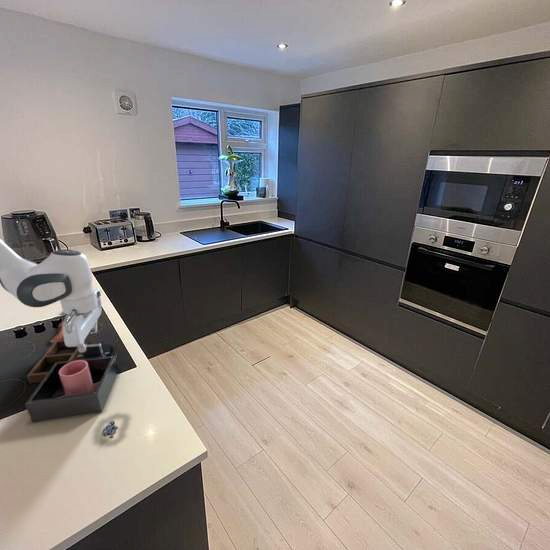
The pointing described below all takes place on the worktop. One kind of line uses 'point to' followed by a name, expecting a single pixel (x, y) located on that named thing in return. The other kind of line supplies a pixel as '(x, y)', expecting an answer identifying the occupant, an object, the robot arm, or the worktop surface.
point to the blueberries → (110, 429)
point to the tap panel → (106, 353)
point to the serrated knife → (59, 331)
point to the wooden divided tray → (51, 360)
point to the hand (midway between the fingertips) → (88, 341)
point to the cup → (76, 378)
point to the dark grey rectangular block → (93, 350)
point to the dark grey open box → (69, 406)
